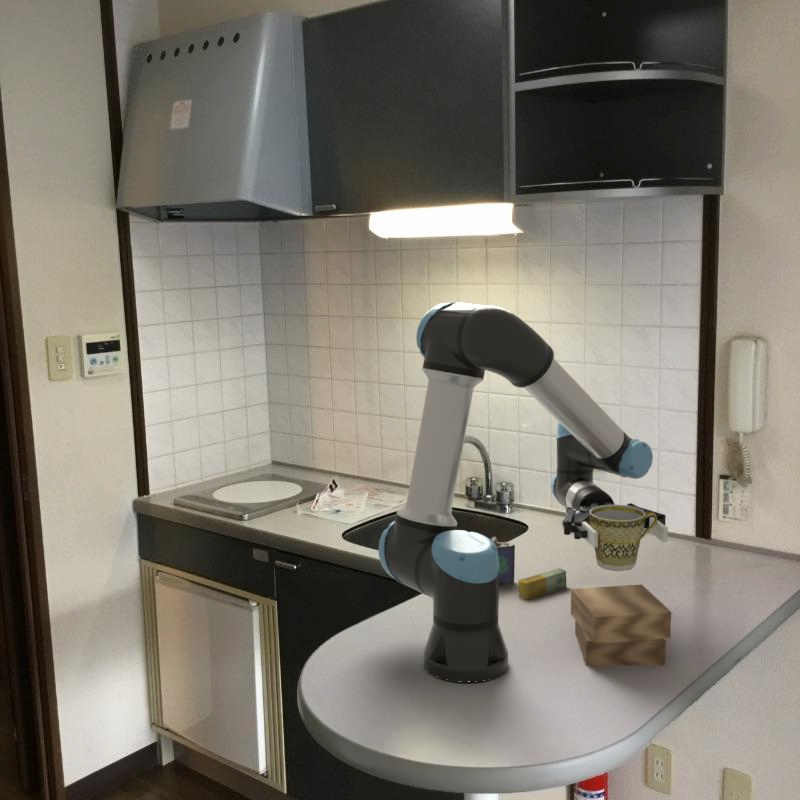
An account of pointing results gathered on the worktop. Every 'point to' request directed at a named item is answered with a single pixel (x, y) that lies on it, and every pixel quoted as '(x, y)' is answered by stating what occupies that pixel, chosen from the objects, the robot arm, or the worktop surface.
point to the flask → (505, 561)
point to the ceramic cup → (618, 535)
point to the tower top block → (620, 614)
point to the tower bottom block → (620, 651)
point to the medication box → (542, 584)
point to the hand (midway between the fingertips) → (631, 537)
